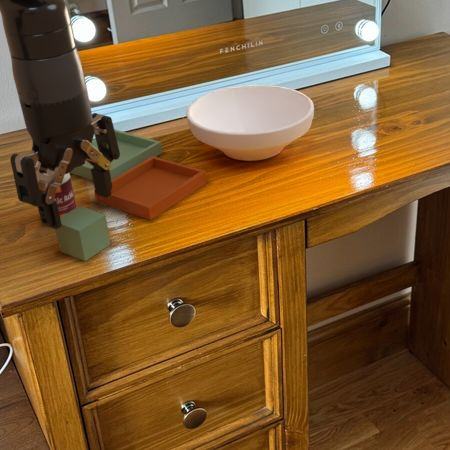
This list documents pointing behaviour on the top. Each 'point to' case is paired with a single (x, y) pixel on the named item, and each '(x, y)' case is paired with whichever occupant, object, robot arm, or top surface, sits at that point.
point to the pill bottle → (63, 194)
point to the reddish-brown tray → (153, 187)
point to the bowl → (250, 120)
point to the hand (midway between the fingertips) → (79, 210)
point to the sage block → (83, 233)
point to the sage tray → (125, 154)
